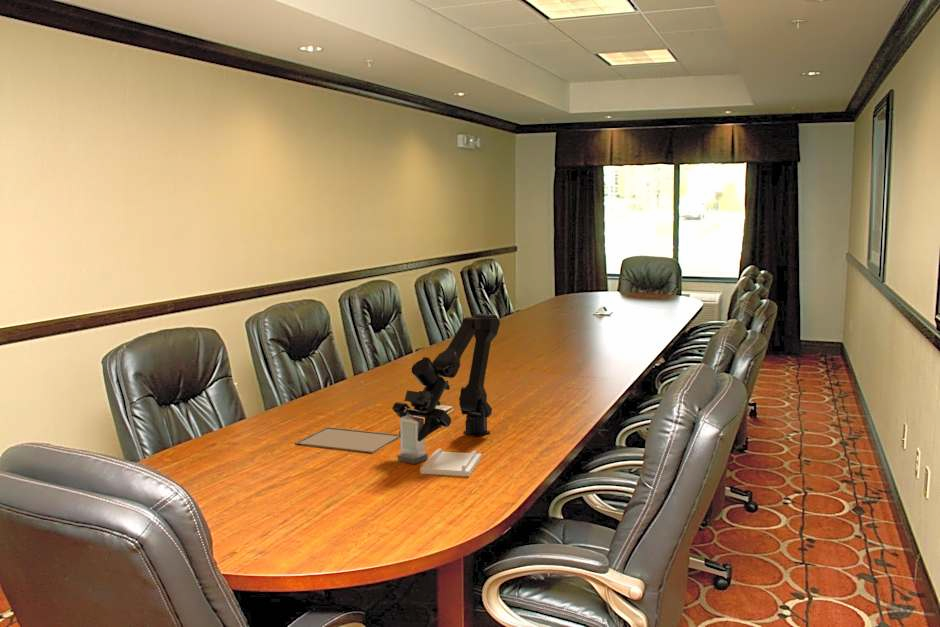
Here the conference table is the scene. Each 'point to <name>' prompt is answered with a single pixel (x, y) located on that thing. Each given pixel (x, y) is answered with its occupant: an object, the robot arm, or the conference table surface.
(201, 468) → the conference table surface
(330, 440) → the grey flat bordered slab
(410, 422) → the tall brushed metal block
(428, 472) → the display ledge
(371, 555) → the conference table surface
